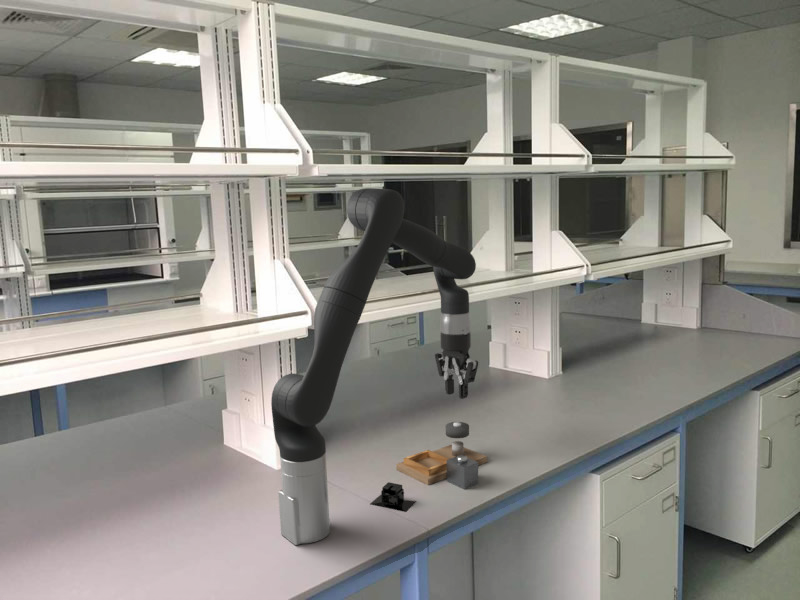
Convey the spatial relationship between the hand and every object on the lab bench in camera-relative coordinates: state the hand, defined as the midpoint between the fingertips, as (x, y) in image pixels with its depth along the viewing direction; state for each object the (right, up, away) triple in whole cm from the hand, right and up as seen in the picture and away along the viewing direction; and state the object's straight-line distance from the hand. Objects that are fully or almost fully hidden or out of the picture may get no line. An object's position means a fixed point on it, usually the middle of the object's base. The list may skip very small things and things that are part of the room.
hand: (456, 395), depth 168 cm
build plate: (-16, -22, -20) cm, 33 cm away
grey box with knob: (+1, -19, -11) cm, 22 cm away
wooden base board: (-4, -18, -1) cm, 18 cm away
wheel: (0, -10, +2) cm, 10 cm away
